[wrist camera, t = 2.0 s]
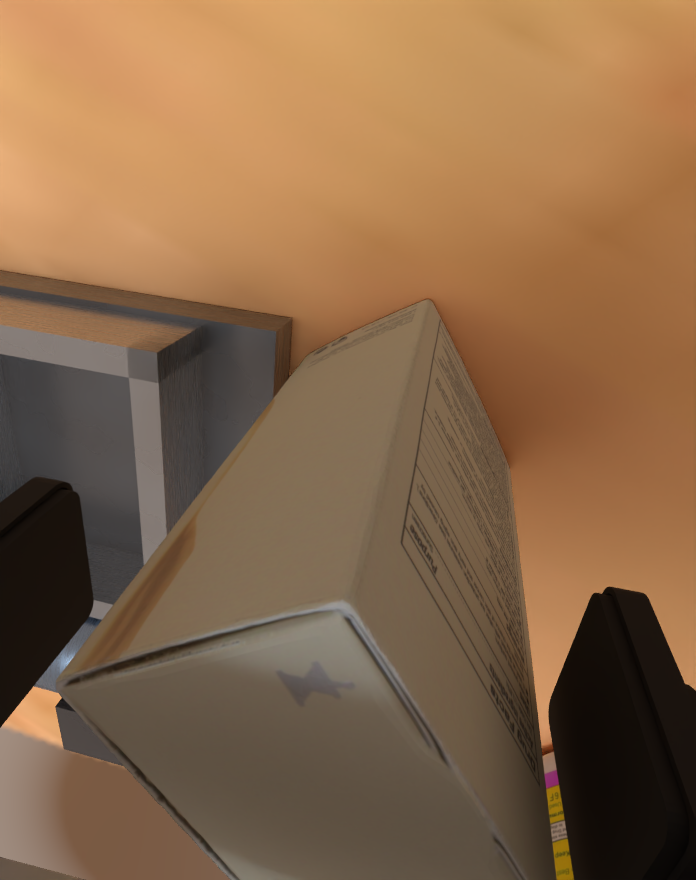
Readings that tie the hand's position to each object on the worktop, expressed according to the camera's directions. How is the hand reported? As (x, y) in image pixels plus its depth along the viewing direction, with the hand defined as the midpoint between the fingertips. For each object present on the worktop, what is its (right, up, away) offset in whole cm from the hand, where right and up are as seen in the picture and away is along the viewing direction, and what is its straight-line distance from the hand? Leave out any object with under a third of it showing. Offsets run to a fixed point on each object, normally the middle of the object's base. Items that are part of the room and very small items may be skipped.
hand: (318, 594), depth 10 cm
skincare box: (+3, +4, +7) cm, 9 cm away
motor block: (-8, +2, +10) cm, 13 cm away
